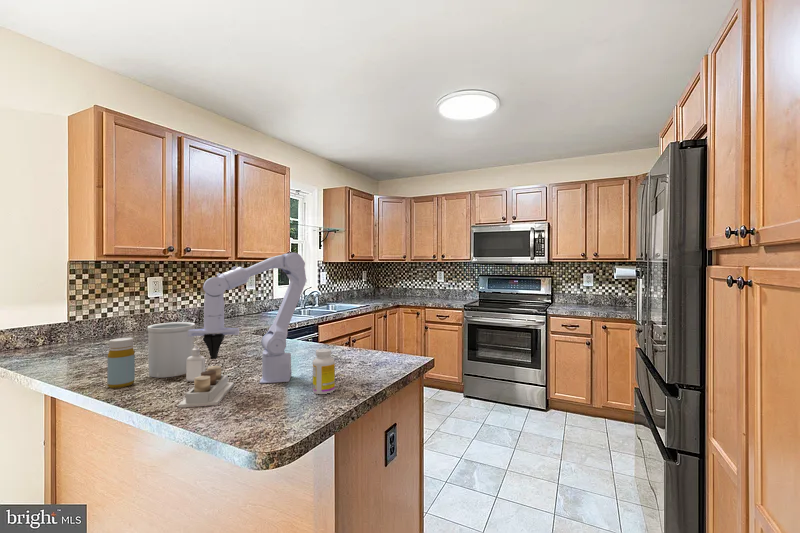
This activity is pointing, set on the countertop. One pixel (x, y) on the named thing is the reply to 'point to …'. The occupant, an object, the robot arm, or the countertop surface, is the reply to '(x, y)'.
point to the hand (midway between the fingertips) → (214, 358)
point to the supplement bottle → (323, 372)
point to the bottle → (121, 363)
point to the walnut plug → (212, 376)
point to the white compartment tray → (208, 394)
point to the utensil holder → (169, 348)
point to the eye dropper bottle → (194, 364)
